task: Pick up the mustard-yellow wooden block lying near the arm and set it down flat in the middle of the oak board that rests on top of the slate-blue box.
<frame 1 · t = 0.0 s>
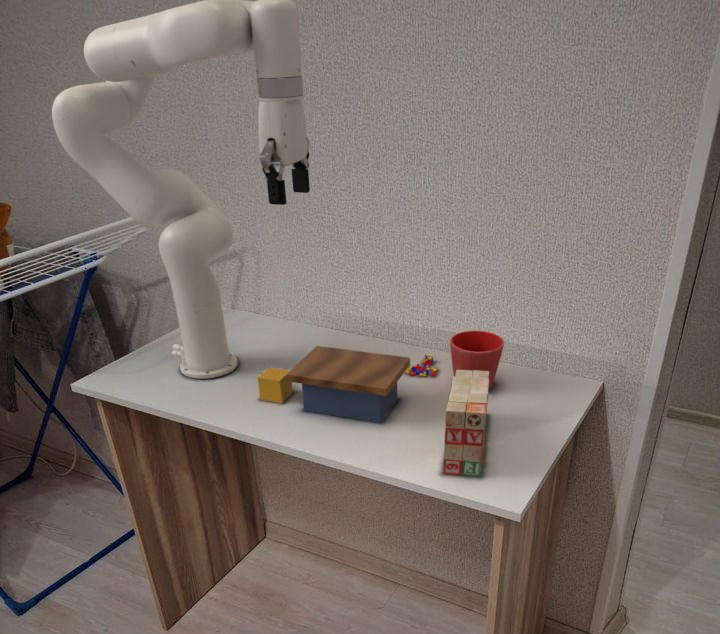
hand: (290, 198, 122), 37 cm above the table, tool pointing down, fingers open, 9 cm apart
mustard block: (276, 396, 138), on the table
blue box: (351, 405, 134), on the table
stack of blocks: (466, 443, 121), on the table
wooden board: (349, 369, 129), on the blue box, point 7 cm above the table
building blocks: (423, 370, 146), on the table
flower pot: (473, 385, 139), on the table
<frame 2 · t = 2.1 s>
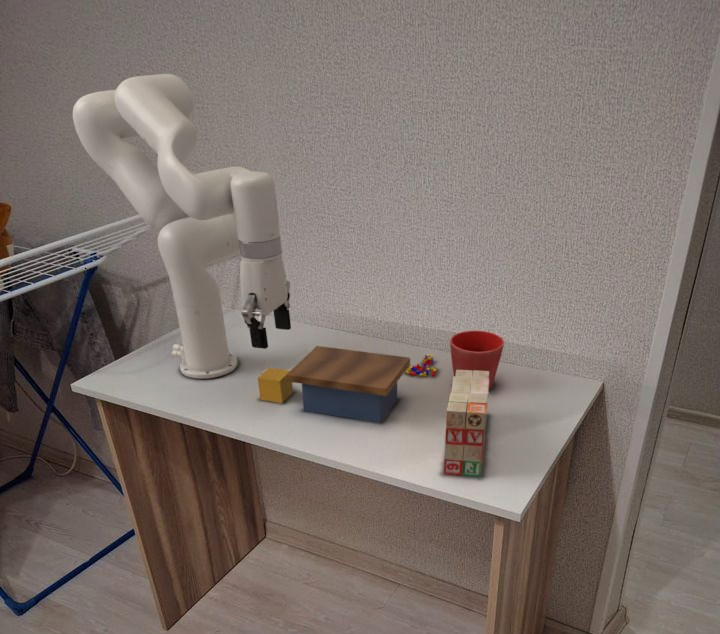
hand: (272, 337, 131), 13 cm above the table, tool pointing down, fingers open, 9 cm apart
nothing on the table moved.
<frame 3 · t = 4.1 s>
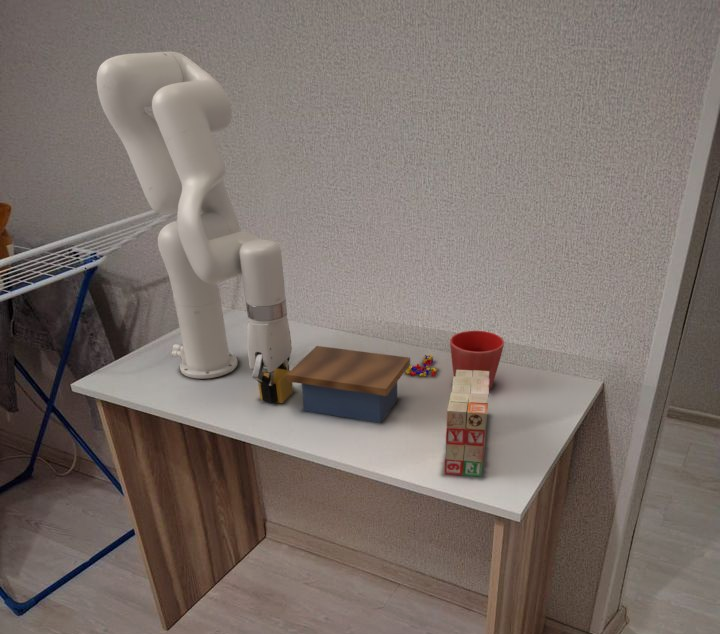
hand: (276, 394, 138), 0 cm above the table, tool pointing down, fingers closed on mustard block, 5 cm apart
mustard block: (276, 396, 138), on the table, touching gripper
everything else where it was.
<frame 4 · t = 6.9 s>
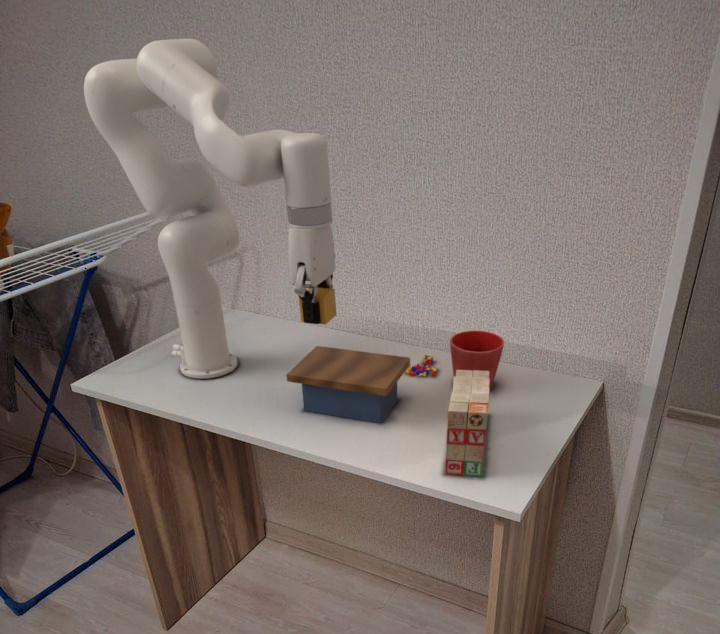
hand: (318, 316, 125), 18 cm above the table, tool pointing down, fingers closed on mustard block, 5 cm apart
mustard block: (319, 318, 125), point 18 cm above the table, touching gripper
everything else where it was.
when the fingers open (9 cm above the table, at t = 9.8 s): mustard block stays where it is, resting on wooden board.
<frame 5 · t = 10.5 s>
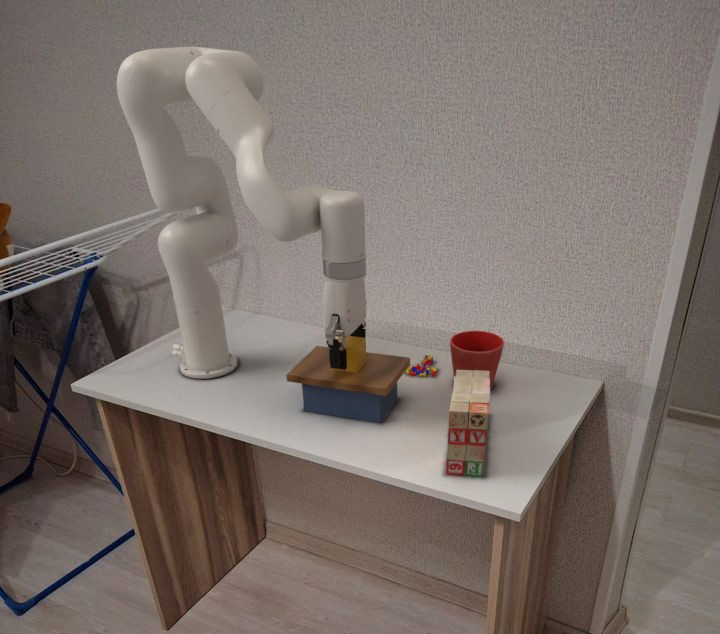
hand: (348, 357, 128), 10 cm above the table, tool pointing down, fingers open, 9 cm apart
mustard block: (349, 365, 129), point 8 cm above the table, touching wooden board
everything else where it was.
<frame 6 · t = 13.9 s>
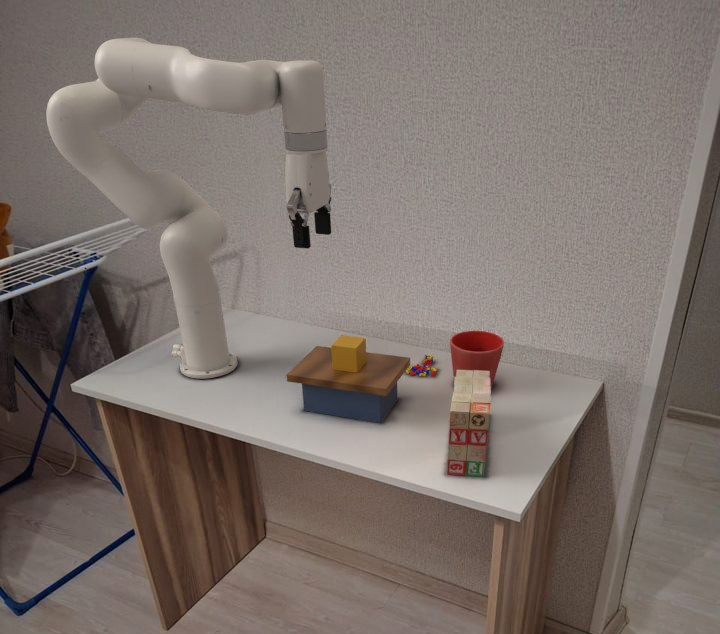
hand: (313, 240, 130), 28 cm above the table, tool pointing down, fingers open, 9 cm apart
nothing on the table moved.
at the end: mustard block inside the target area on the wooden board (0.1 cm from its centre), point 8.5 cm above the wooden board's base; mustard block tilted 0°; the gripper is holding nothing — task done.
